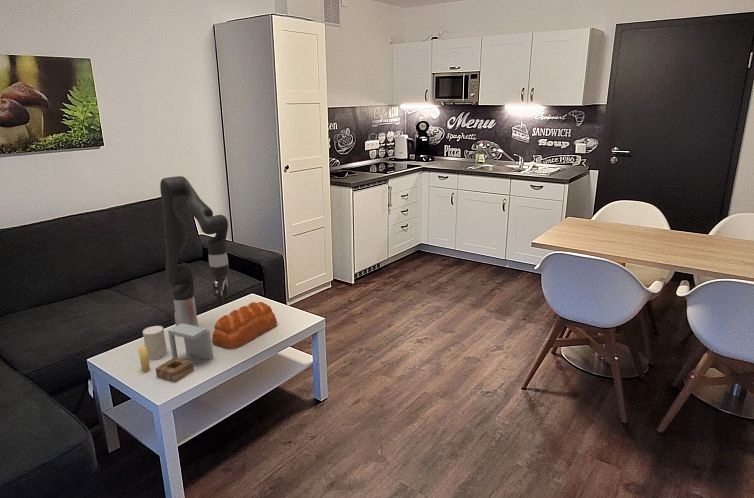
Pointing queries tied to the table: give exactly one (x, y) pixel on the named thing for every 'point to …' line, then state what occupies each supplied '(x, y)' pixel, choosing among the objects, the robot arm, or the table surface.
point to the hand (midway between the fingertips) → (222, 299)
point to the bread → (243, 325)
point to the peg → (144, 358)
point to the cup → (155, 342)
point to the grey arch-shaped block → (192, 340)
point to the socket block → (174, 369)
